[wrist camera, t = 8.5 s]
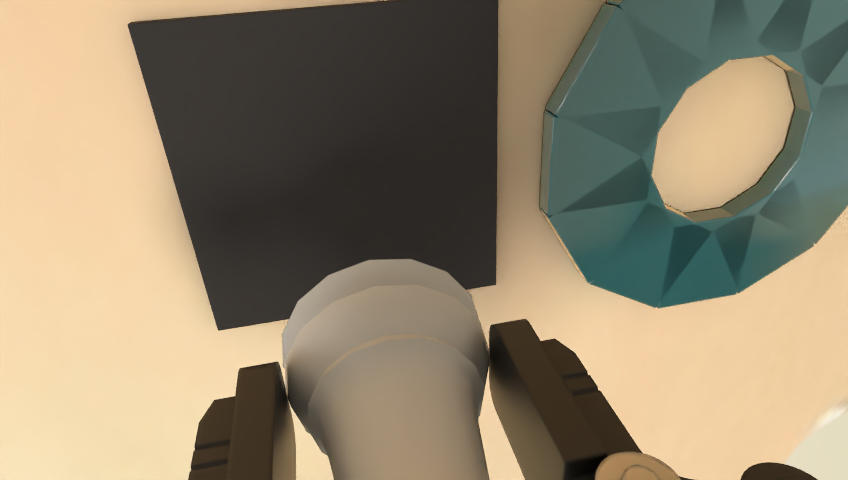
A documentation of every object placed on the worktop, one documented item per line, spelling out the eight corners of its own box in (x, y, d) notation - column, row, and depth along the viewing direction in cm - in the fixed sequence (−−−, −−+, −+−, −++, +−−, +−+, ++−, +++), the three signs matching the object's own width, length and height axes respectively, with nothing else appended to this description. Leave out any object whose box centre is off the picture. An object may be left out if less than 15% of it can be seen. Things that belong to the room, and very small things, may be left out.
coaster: (130, 22, 18) (127, 23, 17) (495, -9, 20) (499, -8, 19) (219, 325, 24) (217, 331, 23) (493, 280, 25) (496, 285, 25)
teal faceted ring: (551, -62, 19) (564, -61, 18) (947, -90, 21) (974, -90, 21) (533, 317, 27) (541, 330, 26) (824, 266, 29) (840, 276, 28)
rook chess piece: (442, 409, 15) (576, 837, 8) (265, 397, 13) (235, 903, 6) (500, 262, 13) (744, 652, 6) (302, 230, 11) (314, 689, 4)
